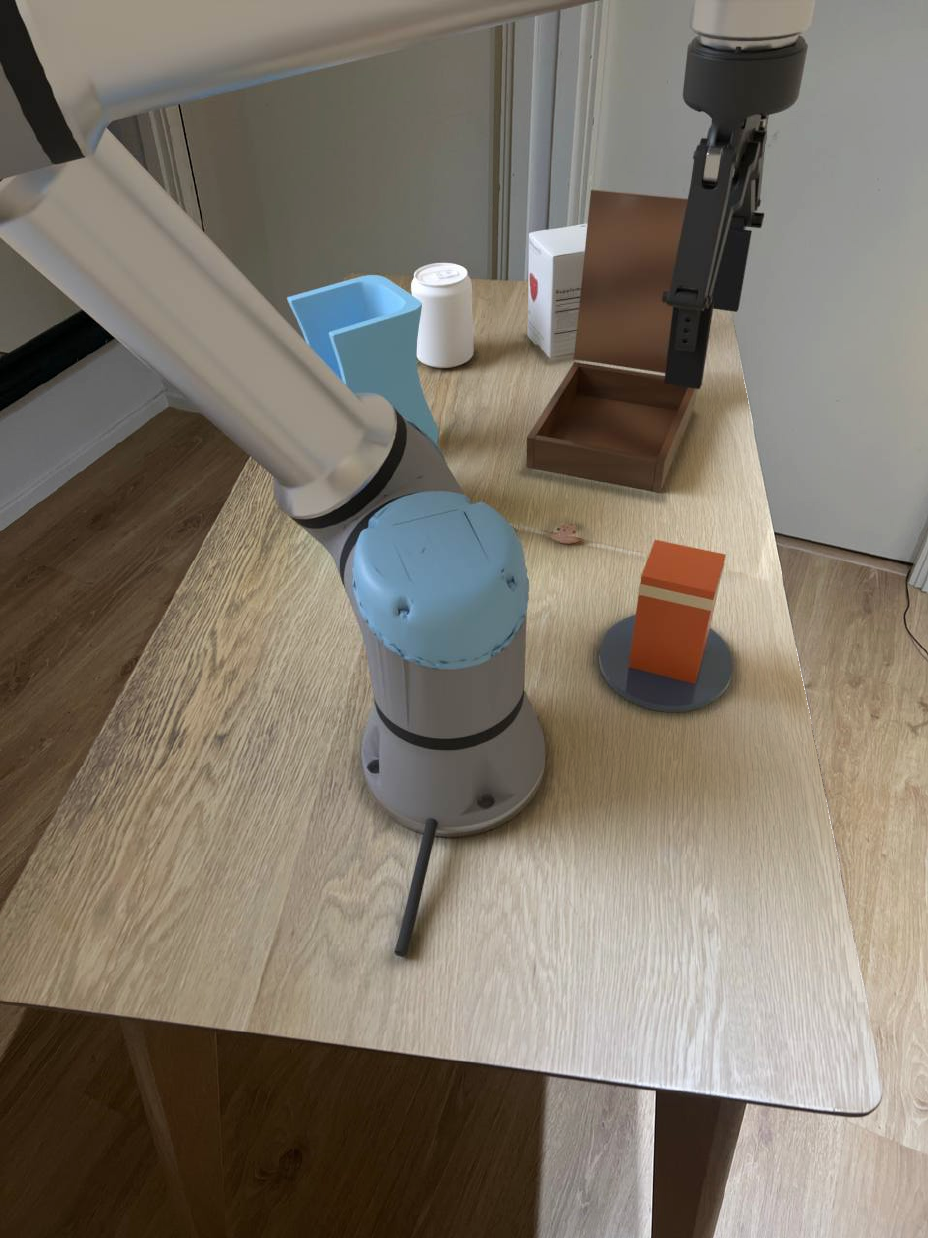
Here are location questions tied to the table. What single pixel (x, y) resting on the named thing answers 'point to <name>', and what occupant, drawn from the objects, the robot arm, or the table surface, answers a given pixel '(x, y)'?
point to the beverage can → (444, 315)
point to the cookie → (565, 534)
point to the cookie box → (675, 610)
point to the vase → (368, 340)
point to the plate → (658, 688)
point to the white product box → (555, 287)
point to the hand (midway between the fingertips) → (703, 344)
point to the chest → (611, 427)
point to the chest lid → (628, 279)
